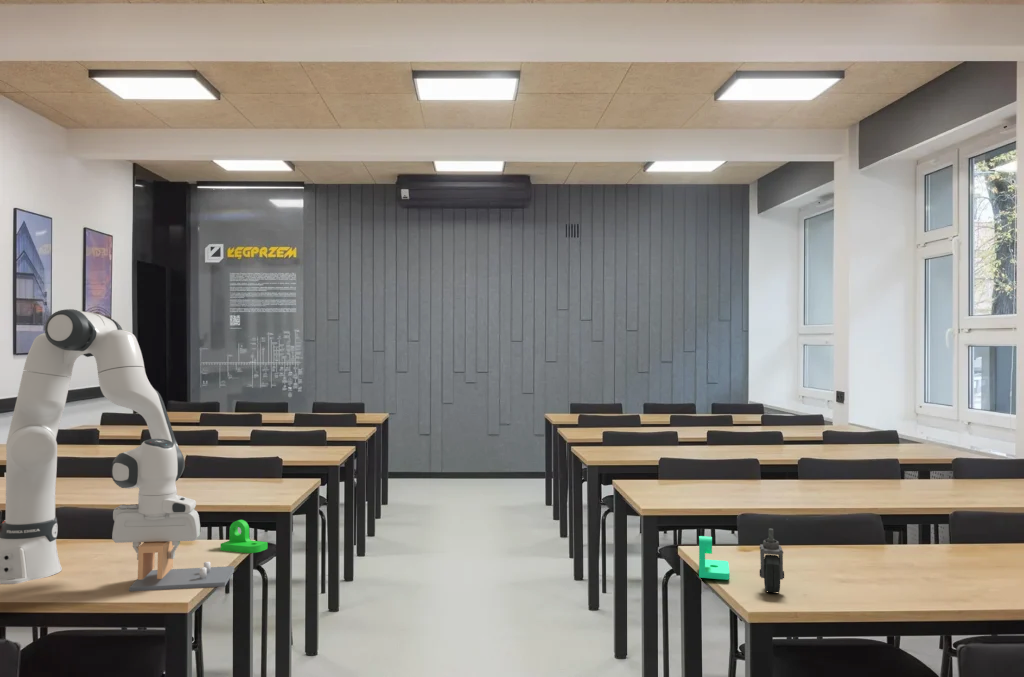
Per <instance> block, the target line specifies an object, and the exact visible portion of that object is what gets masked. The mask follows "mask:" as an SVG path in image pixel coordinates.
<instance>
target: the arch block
mask: <svg viewBox="0 0 1024 677" xmlns="http://www.w3.org/2000/svg"><path fill="white" fill-rule="evenodd" d="M173 547H174V546H173V545H172V541H165V542H142V543H141V544H140V545H139V548H138V560H137V579H138V580H142V579H143V578H145V577H146V576H147V575H148V574H149V573H150V572H151V571H152V570H155V565H156V564H155V561H156V559H155V558H156V557H155V556H156V555H155V553H157V569H156V570H157V579H162V578H163V577H164V576H165V575H166V574H167V573H168V572H169V571H170V570H171V569H174V559H167V552H168V551H171V550H172V549H173Z"/></svg>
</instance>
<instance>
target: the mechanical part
mask: <svg viewBox="0 0 1024 677" xmlns="http://www.w3.org/2000/svg"><path fill="white" fill-rule="evenodd" d="M238 529H240V532H239V530H238ZM265 550H268V542H267V541H259V540H251V539H250V526H249V524H248V522H247V521H246V520H244V519H238V520H236V521H233V522H232V523H231V524H230V527H229V540H227V541H224V542H222V543H220V551H223V552H233V553H235V552H236V553H242V554H243V553H244V554H256V553H261V552H263V551H265Z"/></svg>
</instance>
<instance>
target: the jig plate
mask: <svg viewBox="0 0 1024 677" xmlns="http://www.w3.org/2000/svg"><path fill="white" fill-rule="evenodd" d="M234 572H235V566H234V565H231V566H230V565H229V566H211V561H204V562H203V567H191V568H190V567H188V568H172V569H171V570H170V571H169V572H168V573H167V574H166V575H165V576H164V577H163V578H162V579H157V569H153V570H152V571H151V572H150V573H149V574H148V575H147V576H146V577H145V578H143V579H142V580H138V578H137V579H136V580H134V582H133V583H132V584H131V585H130V586H129V589H128V591H129V592H139V591H141V592H143V591H144V592H145V591H158V590H159V591H161V590H179V589H180V590H181V589H199V588H200V589H202V588H203V589H204V588H219V587H220V588H221V587H226V585H227V584H228V582H229V580H230V579H231V577H232V576H233V573H234Z"/></svg>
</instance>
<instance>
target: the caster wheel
mask: <svg viewBox="0 0 1024 677" xmlns="http://www.w3.org/2000/svg"><path fill="white" fill-rule="evenodd" d="M767 534H768V538H766V539H764V540H763V541H762V544H759V552H760V553H759V554H760V555H759V556H760V558H759V559H760V569H759V577H760V578H761V579H763V581H764V582H763V583H764V591H765V590H766V591H768V592H779V593H780V591H781V580H784V579H785V571H784V557H783V556H784V551H783V548H782V545H780V542H779V541H778V540H776V539H775V538H774V528H768V532H767ZM766 591H765V592H766Z"/></svg>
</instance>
